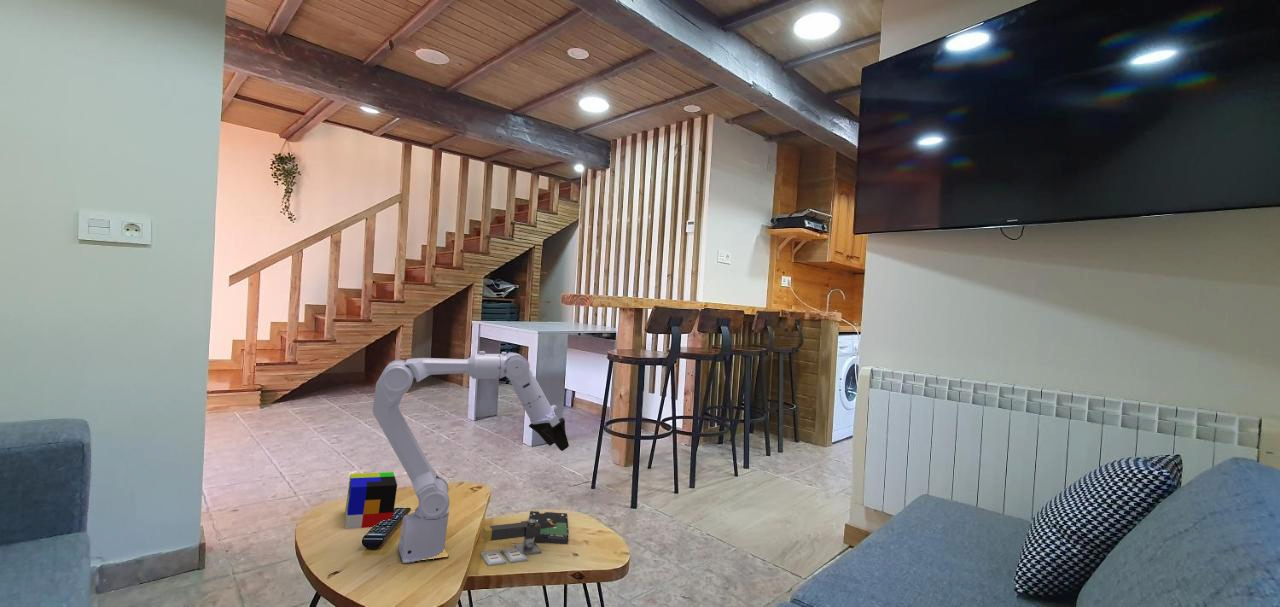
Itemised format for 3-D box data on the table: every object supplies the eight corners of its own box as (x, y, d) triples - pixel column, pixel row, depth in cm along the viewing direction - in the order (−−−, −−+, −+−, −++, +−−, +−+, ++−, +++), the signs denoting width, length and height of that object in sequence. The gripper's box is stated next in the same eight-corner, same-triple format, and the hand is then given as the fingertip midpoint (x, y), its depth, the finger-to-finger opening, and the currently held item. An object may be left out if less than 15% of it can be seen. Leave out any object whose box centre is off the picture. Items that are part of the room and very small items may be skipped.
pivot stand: (521, 555, 122) (525, 525, 122) (514, 546, 126) (518, 517, 126) (541, 553, 125) (545, 523, 125) (534, 543, 129) (537, 515, 129)
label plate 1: (488, 566, 115) (488, 563, 115) (480, 554, 120) (480, 551, 120) (505, 563, 117) (506, 561, 117) (497, 551, 122) (498, 549, 122)
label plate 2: (510, 563, 118) (510, 560, 118) (501, 551, 123) (502, 548, 123) (527, 560, 120) (527, 558, 120) (518, 549, 125) (518, 546, 125)
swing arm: (534, 530, 128) (535, 519, 128) (539, 536, 125) (541, 525, 125) (480, 536, 121) (482, 525, 121) (485, 542, 118) (486, 531, 118)
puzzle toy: (345, 529, 124) (351, 487, 125) (344, 513, 133) (350, 473, 133) (391, 525, 129) (397, 485, 130) (388, 510, 138) (393, 472, 138)
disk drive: (528, 521, 144) (526, 544, 129) (529, 510, 144) (527, 532, 129) (566, 522, 145) (568, 546, 131) (567, 512, 146) (569, 534, 131)
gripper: (558, 391, 122) (584, 440, 124) (536, 387, 134) (560, 432, 137) (532, 409, 118) (560, 458, 121) (512, 403, 131) (538, 448, 133)
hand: (558, 445), depth 129 cm, fingers open, 7 cm apart
